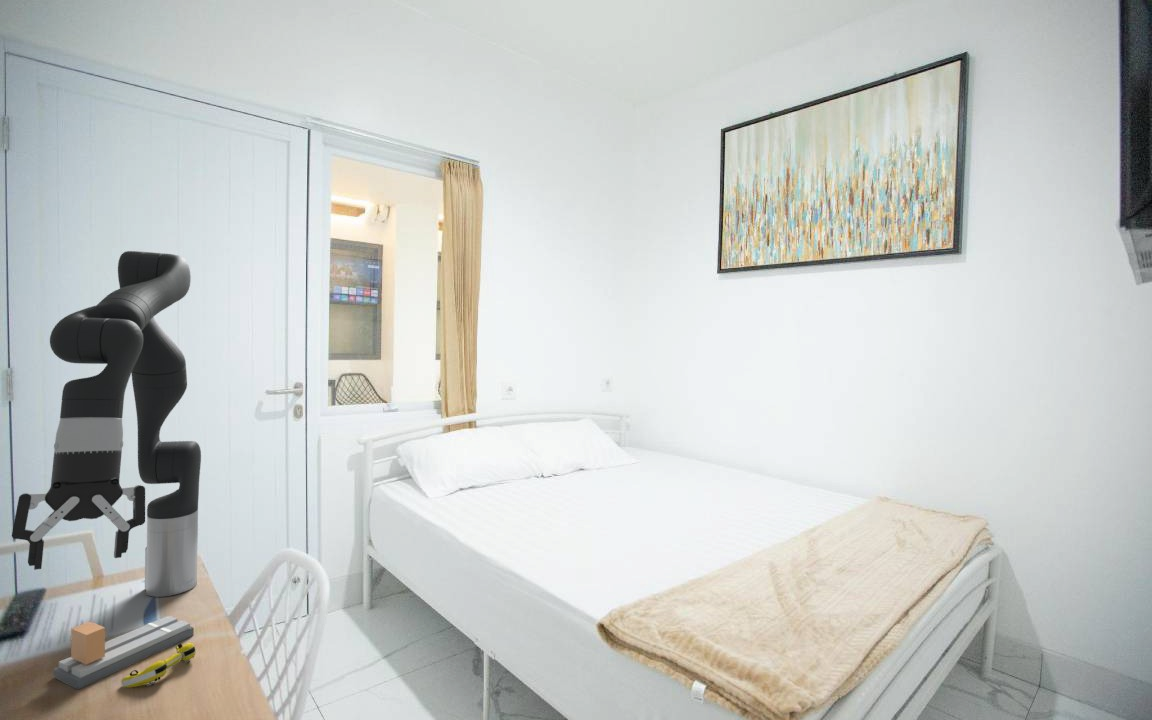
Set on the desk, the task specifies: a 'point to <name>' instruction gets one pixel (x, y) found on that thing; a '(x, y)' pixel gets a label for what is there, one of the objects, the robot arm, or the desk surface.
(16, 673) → the desk surface
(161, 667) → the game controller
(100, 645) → the cap
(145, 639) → the fader track
